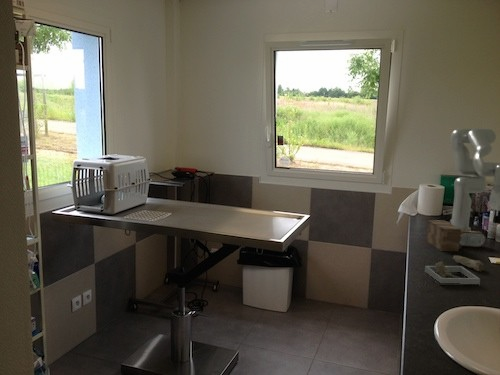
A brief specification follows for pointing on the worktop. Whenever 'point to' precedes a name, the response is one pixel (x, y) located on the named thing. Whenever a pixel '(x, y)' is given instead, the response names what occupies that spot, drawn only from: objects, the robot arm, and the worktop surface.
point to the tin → (472, 238)
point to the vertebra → (443, 271)
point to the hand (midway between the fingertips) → (496, 222)
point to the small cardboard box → (443, 235)
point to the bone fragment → (469, 263)
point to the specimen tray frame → (470, 280)
